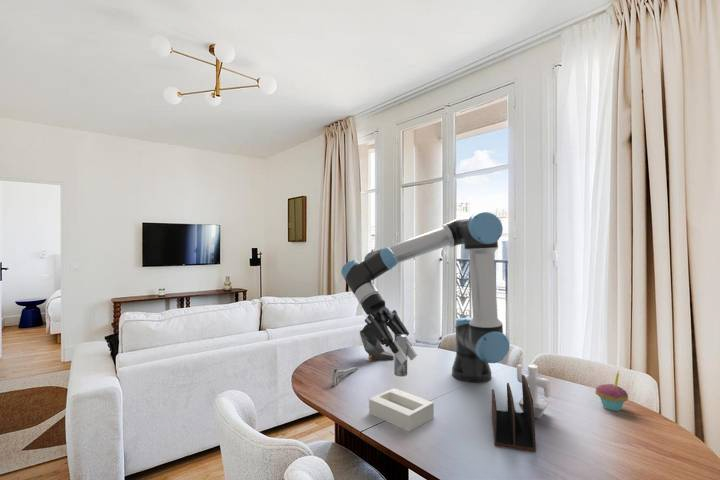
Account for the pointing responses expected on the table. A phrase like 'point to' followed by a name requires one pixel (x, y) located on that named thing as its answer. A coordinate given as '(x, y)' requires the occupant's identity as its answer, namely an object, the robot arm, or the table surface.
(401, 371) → the pin
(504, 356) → the robot arm
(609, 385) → the cupcake
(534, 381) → the figurine
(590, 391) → the table surface
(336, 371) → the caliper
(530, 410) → the letter holder
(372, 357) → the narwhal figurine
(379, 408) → the block
